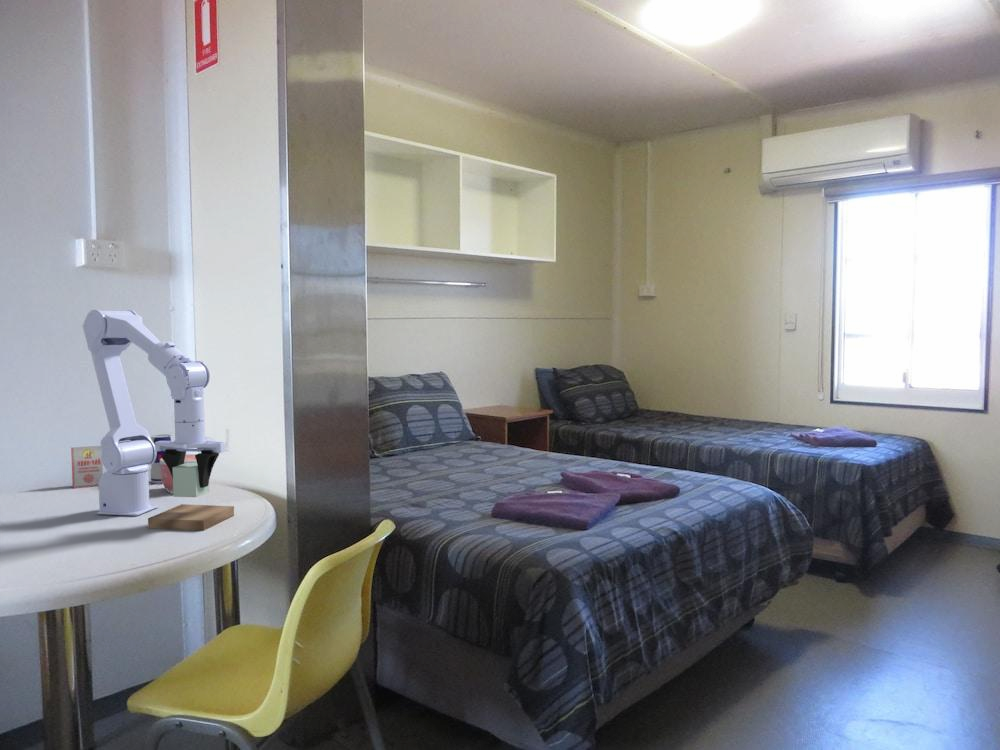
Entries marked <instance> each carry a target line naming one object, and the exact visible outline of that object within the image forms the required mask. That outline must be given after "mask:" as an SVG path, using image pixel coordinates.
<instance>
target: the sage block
mask: <svg viewBox="0 0 1000 750" xmlns="http://www.w3.org/2000/svg"><path fill="white" fill-rule="evenodd" d="M207 493H210V483H209V484H208V486H206V487H204V488H200V484H199V470H198V465H197V463H185V464H182V465H179V466H175V467H173V493H172V494H173V497H176V498H177V497H178V498H198V497H200V496H203V495H206V494H207Z"/></svg>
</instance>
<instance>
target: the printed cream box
mask: <svg viewBox="0 0 1000 750" xmlns="http://www.w3.org/2000/svg"><path fill="white" fill-rule="evenodd" d="M70 450H71V451H70V452H71V453H70V455H71V477H72V478H71V479H72V482H71V483H72V489H81V488H82V489H83V488H91V487H99V481H100V478H101V476H102V475H103V474H104V470H103V466H104V465H103V463H102V459H101V454H102V446H101V445H89V446H88V445H87V446H74V447H70Z"/></svg>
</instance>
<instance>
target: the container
mask: <svg viewBox="0 0 1000 750" xmlns="http://www.w3.org/2000/svg"><path fill="white" fill-rule="evenodd" d="M196 454H197V453H196ZM196 454H195V453H194V454H193V453H192V454H191V453H189V454H188V453H186V455H185V460H184V464H185V463H197V461H196V458H195V455H196ZM160 464H162V466H161V472H162V485H163V487H164V488H165V489H166V490H167V491H168V492H167V493H169V492H172V493H171V494H173V478H172V475H171V473H170V470H169V468H168V466H167V465H166V463H165V462H164V460H163V459H162V458H161V459H160Z"/></svg>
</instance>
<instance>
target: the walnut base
mask: <svg viewBox="0 0 1000 750" xmlns="http://www.w3.org/2000/svg"><path fill="white" fill-rule="evenodd" d="M234 516H235V506H234V505H213V504H211V505H210V504H209V505H208V504H207V505H206V504H186V503H185V504H182V503H181V504H179V505H177V506H174V507H172V508H170V509H168V510H165V511H162V512H160V513H158V514H155V515H153V516H150V517H148V518H147V524H148V525H147V528H148V529H161V530H163V529H164V530H184V531H185V530H187V531H202V532H203V531H206V530H208V529H210V528H212V527H213V526H216V525H217V524H219V523H222V522H224V521H226V520H229V519H230V518H231V517H234Z"/></svg>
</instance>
